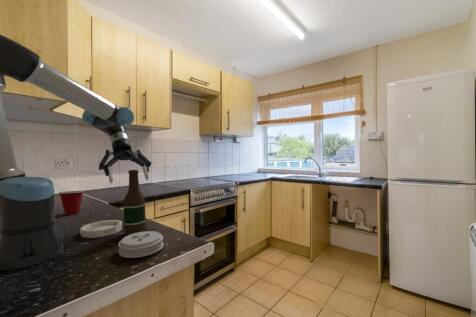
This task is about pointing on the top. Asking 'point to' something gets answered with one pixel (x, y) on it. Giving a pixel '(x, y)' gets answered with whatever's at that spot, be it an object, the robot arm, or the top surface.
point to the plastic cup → (71, 201)
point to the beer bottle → (134, 207)
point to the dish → (101, 229)
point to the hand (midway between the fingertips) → (130, 179)
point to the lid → (140, 244)
